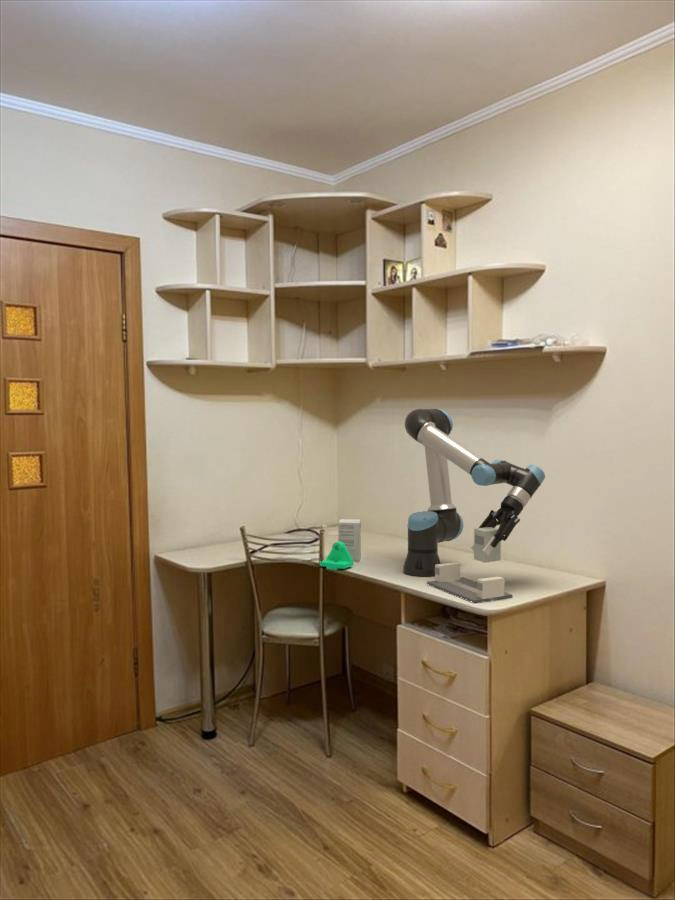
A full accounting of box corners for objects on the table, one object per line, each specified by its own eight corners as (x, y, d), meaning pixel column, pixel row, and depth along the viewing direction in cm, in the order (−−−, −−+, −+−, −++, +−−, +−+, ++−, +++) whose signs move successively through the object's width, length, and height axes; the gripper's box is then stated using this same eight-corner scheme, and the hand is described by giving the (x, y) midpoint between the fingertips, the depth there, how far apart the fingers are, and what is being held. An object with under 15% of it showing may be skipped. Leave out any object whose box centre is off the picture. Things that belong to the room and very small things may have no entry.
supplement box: (339, 557, 299) (339, 518, 298) (360, 557, 298) (360, 519, 297) (338, 561, 289) (338, 522, 289) (359, 562, 289) (359, 522, 288)
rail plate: (427, 584, 251) (427, 565, 250) (463, 579, 258) (463, 561, 257) (474, 603, 225) (474, 582, 225) (512, 597, 232) (512, 577, 232)
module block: (473, 559, 244) (473, 528, 243) (489, 557, 247) (489, 526, 246) (484, 562, 239) (484, 531, 238) (500, 560, 242) (500, 529, 241)
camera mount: (318, 568, 278) (318, 543, 278) (328, 564, 285) (327, 540, 284) (344, 571, 272) (344, 545, 272) (353, 567, 279) (353, 542, 278)
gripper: (539, 512, 241) (503, 563, 234) (502, 505, 257) (467, 552, 251) (528, 498, 238) (491, 549, 231) (491, 492, 254) (456, 540, 248)
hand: (479, 551), depth 241 cm, fingers closed on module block, 6 cm apart
